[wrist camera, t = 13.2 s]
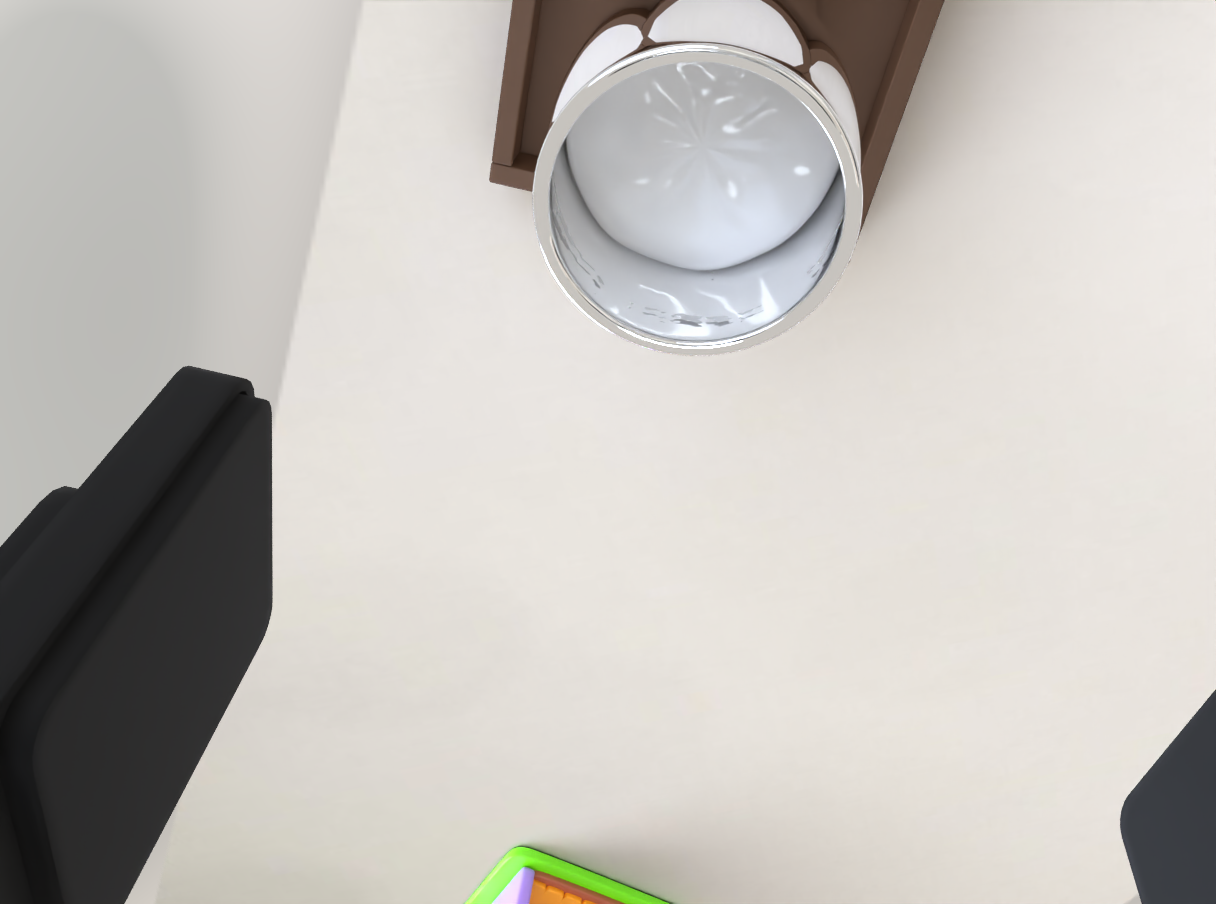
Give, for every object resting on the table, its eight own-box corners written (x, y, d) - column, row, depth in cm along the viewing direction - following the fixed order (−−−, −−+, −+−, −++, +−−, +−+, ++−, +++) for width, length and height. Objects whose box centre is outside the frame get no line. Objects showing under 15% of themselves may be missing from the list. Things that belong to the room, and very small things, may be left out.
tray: (557, -257, 30) (545, -254, 28) (985, -156, 30) (997, -146, 28) (500, 161, 37) (488, 182, 36) (845, 240, 37) (848, 265, 36)
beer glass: (569, 63, 34) (466, 267, 22) (679, -151, 31) (626, -45, 18) (751, 170, 36) (747, 417, 24) (878, -22, 32) (951, 156, 20)
